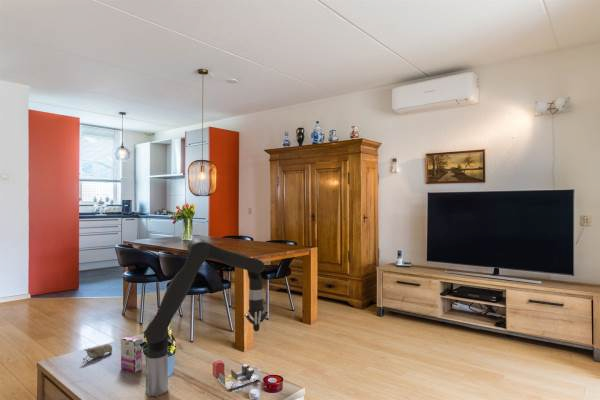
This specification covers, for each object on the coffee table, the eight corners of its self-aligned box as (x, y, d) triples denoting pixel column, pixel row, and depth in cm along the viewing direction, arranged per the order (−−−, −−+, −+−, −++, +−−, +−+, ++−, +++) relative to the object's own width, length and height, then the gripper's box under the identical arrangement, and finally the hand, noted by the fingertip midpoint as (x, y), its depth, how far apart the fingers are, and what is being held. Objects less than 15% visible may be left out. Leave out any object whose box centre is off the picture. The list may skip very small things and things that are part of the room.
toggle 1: (244, 374, 189) (244, 366, 189) (241, 372, 191) (241, 364, 191) (249, 373, 190) (248, 365, 190) (246, 371, 193) (246, 363, 193)
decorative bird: (114, 353, 220) (114, 340, 220) (87, 364, 206) (86, 350, 206) (108, 351, 223) (108, 339, 223) (81, 362, 209) (81, 348, 209)
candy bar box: (142, 369, 199) (142, 338, 199) (134, 373, 195) (134, 341, 194) (128, 365, 204) (128, 335, 204) (120, 368, 200) (120, 338, 200)
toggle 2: (249, 378, 184) (249, 370, 184) (246, 376, 187) (246, 368, 187) (254, 377, 186) (254, 369, 186) (251, 375, 188) (251, 367, 188)
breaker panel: (227, 390, 176) (227, 382, 176) (217, 380, 186) (217, 373, 186) (259, 380, 186) (259, 372, 186) (248, 371, 196) (248, 364, 196)
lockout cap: (216, 377, 189) (216, 364, 189) (212, 374, 193) (212, 361, 193) (224, 374, 192) (224, 362, 192) (220, 371, 196) (220, 359, 196)
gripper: (247, 301, 187) (248, 335, 188) (270, 296, 195) (271, 330, 195) (241, 298, 194) (241, 331, 194) (263, 294, 201) (263, 326, 201)
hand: (256, 330), depth 194 cm, fingers closed
